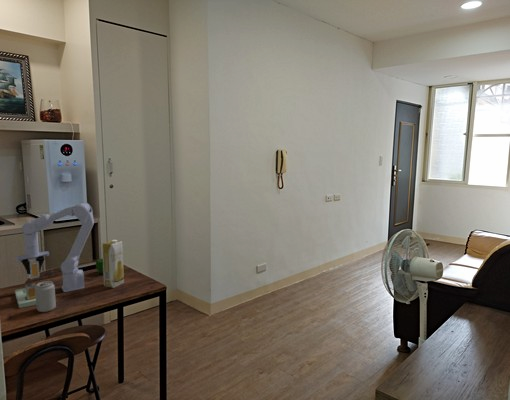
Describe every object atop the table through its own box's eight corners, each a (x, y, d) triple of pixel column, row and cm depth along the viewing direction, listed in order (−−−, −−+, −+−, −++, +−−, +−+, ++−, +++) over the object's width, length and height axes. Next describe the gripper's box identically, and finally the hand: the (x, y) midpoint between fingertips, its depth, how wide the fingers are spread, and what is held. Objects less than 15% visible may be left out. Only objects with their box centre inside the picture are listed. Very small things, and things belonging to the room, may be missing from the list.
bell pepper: (100, 276, 208) (100, 258, 206) (93, 272, 213) (92, 255, 212) (115, 272, 214) (114, 255, 213) (107, 269, 219) (107, 252, 218)
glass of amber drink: (36, 299, 176) (35, 282, 175) (37, 302, 173) (36, 285, 172) (26, 301, 174) (25, 284, 173) (27, 304, 171) (26, 287, 170)
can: (41, 306, 169) (39, 280, 167) (58, 305, 170) (57, 280, 168) (33, 313, 162) (31, 286, 160) (51, 312, 162) (49, 286, 161)
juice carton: (113, 289, 190) (111, 242, 186) (101, 286, 193) (99, 241, 189) (126, 282, 198) (124, 238, 195) (114, 280, 201) (112, 237, 198)
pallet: (41, 288, 189) (40, 285, 188) (47, 302, 173) (46, 298, 173) (15, 293, 182) (14, 289, 182) (19, 308, 166) (18, 303, 166)
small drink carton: (36, 275, 188) (35, 259, 187) (39, 277, 186) (38, 261, 185) (28, 277, 186) (26, 261, 184) (30, 279, 183) (29, 263, 182)
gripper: (44, 241, 191) (46, 267, 193) (12, 247, 180) (14, 274, 182) (50, 244, 187) (51, 270, 189) (17, 250, 176) (19, 277, 178)
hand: (33, 272), depth 185 cm, fingers closed on small drink carton, 4 cm apart
